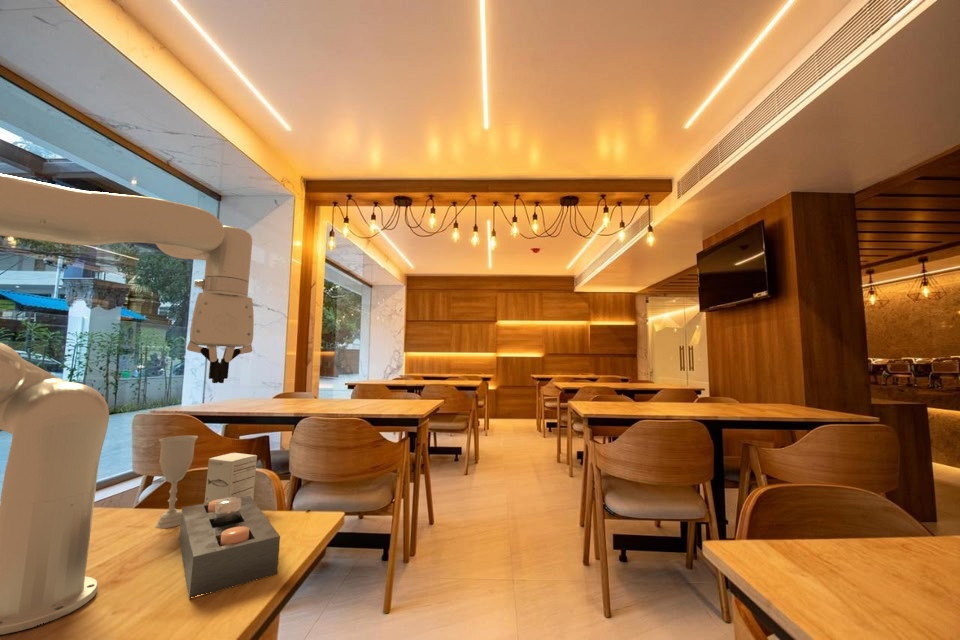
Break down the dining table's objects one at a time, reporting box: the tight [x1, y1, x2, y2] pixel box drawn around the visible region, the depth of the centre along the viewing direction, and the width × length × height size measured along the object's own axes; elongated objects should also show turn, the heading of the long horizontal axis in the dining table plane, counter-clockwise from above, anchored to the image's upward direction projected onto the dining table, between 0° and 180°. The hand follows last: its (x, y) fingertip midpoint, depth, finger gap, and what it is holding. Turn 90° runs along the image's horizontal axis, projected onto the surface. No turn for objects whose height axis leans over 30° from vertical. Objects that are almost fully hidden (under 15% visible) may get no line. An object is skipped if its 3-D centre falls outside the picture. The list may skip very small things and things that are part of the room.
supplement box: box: [203, 452, 258, 504], centre depth 95 cm, size 7×7×13 cm
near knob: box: [219, 527, 250, 547], centre depth 67 cm, size 4×4×3 cm
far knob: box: [208, 499, 220, 513], centre depth 80 cm, size 4×4×3 cm
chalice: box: [155, 434, 199, 529], centre depth 88 cm, size 7×7×18 cm
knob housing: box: [178, 496, 281, 599], centre depth 73 cm, size 12×26×6 cm, turn 40°
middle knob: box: [214, 497, 241, 522], centre depth 74 cm, size 4×4×3 cm
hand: (217, 382), depth 77 cm, fingers closed
